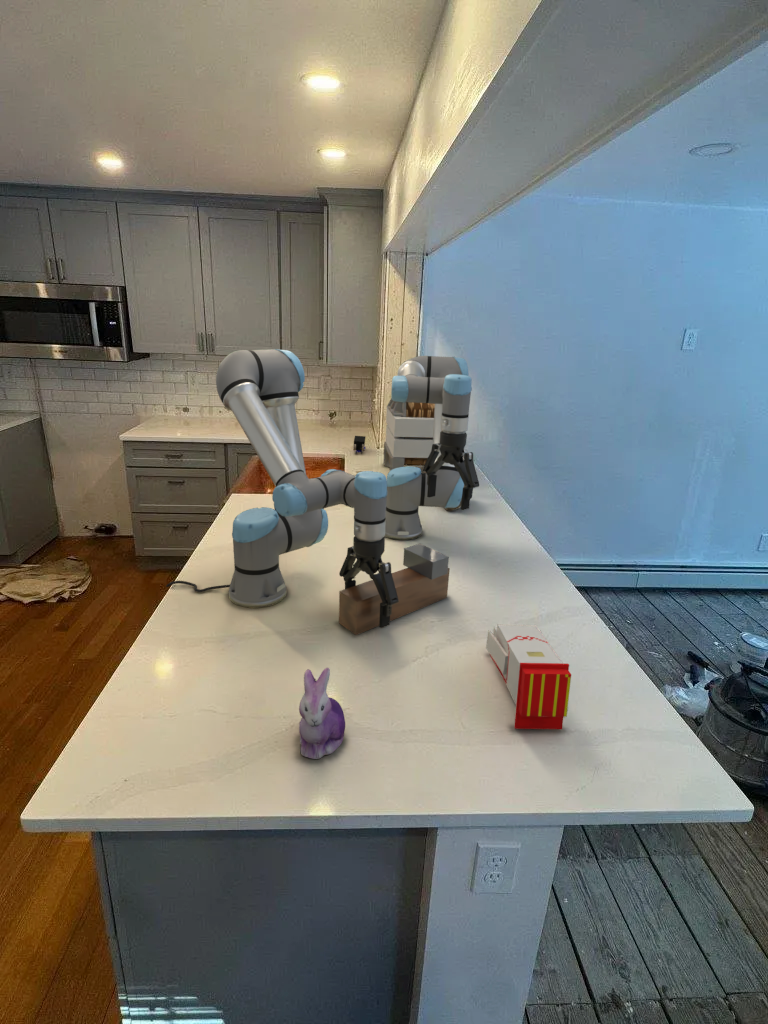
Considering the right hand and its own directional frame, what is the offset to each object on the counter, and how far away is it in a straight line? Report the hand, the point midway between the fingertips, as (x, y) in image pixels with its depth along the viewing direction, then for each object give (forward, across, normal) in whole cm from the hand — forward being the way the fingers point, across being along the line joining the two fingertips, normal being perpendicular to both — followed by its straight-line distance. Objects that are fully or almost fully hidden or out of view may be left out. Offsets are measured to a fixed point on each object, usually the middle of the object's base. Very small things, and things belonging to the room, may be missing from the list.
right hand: (447, 502), depth 167 cm
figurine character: (+22, -131, +71) cm, 151 cm away
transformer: (+22, -82, +70) cm, 110 cm away
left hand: (+20, +10, -38) cm, 44 cm away
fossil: (+22, -40, +50) cm, 68 cm away
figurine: (+22, +38, -71) cm, 83 cm away
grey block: (+13, +10, -18) cm, 24 cm away
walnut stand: (+22, +10, -28) cm, 37 cm away
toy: (+22, +50, -28) cm, 61 cm away
